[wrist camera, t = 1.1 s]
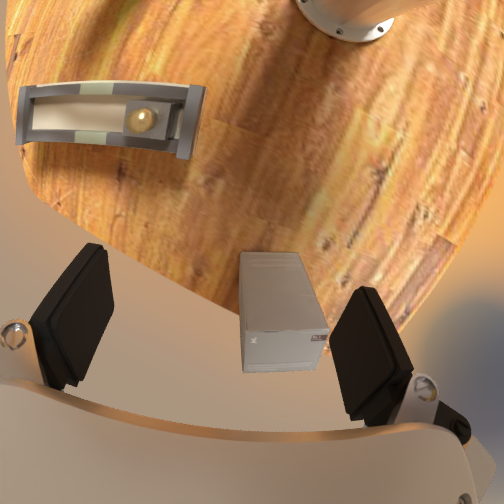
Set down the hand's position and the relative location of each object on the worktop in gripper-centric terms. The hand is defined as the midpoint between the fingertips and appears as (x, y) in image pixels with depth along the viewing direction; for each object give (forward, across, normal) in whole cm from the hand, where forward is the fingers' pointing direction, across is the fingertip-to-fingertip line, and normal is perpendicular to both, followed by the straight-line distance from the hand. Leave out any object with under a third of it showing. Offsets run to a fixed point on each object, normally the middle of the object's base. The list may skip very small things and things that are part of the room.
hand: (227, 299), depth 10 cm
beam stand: (+25, +16, -4) cm, 30 cm away
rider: (+19, +9, -4) cm, 22 cm away
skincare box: (+25, -7, +15) cm, 30 cm away
